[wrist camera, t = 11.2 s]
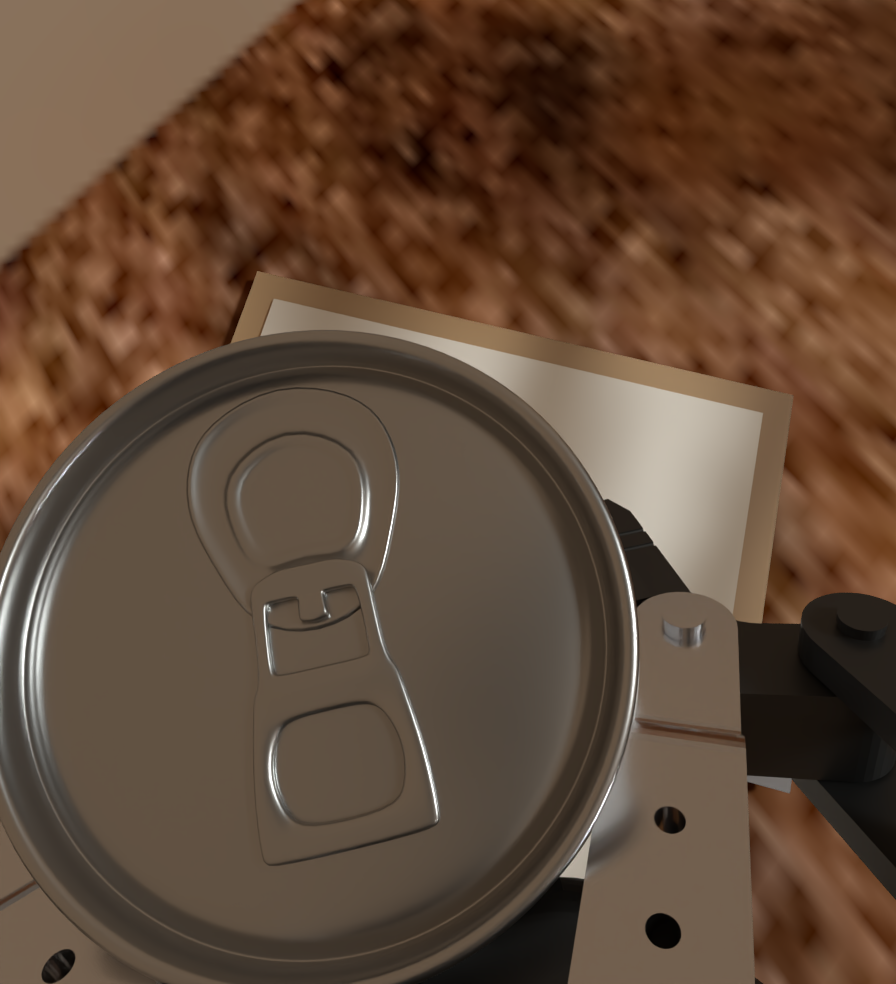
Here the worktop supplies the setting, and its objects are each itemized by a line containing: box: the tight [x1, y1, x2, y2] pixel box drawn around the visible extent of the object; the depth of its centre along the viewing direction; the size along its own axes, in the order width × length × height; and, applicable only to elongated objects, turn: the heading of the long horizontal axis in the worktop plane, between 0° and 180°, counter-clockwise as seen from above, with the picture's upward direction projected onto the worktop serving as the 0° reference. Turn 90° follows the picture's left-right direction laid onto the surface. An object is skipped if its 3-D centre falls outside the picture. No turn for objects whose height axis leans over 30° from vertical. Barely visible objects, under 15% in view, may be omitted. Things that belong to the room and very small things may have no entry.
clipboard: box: [231, 271, 793, 879], centre depth 18 cm, size 17×19×1 cm
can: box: [0, 330, 640, 984], centre depth 12 cm, size 6×6×12 cm
